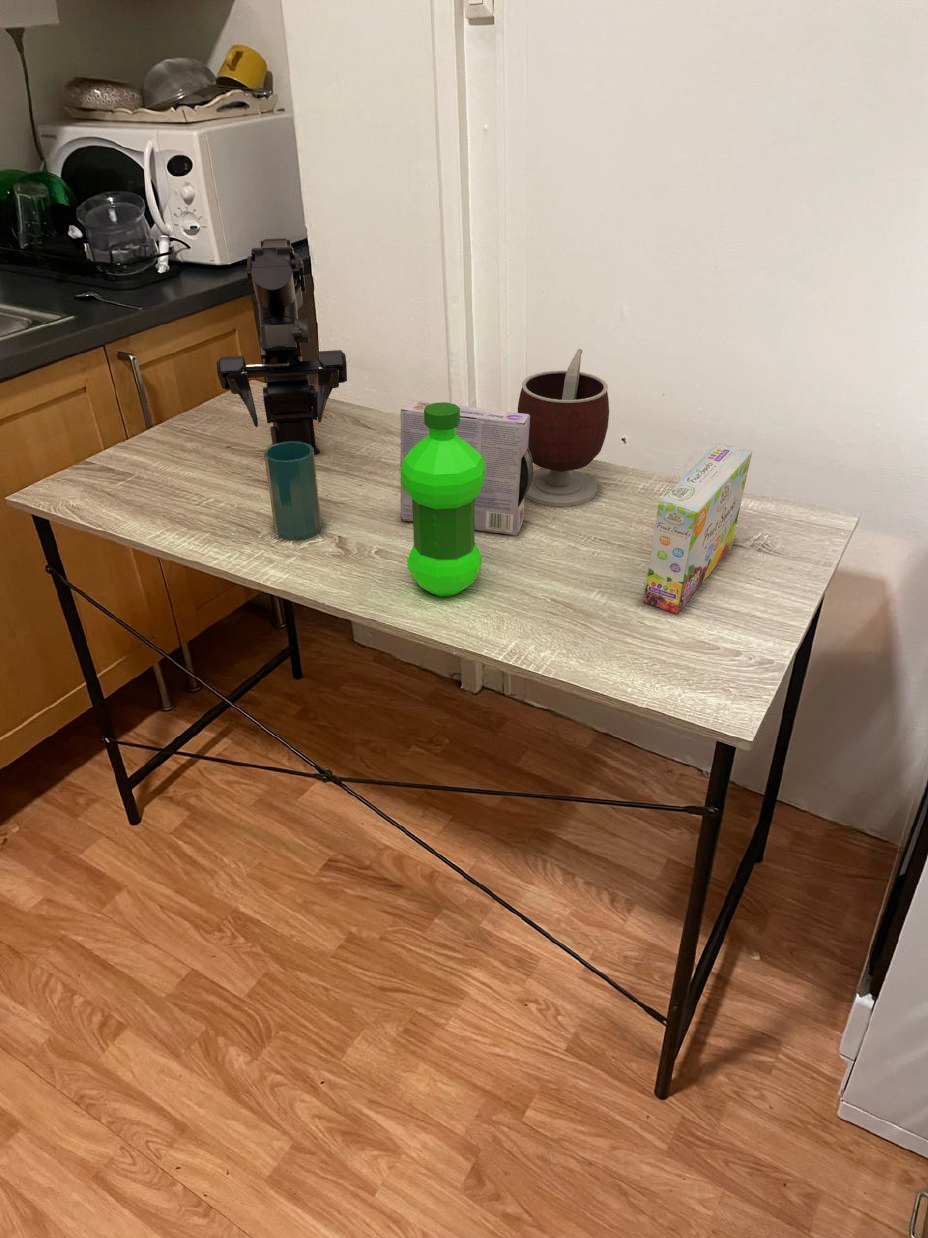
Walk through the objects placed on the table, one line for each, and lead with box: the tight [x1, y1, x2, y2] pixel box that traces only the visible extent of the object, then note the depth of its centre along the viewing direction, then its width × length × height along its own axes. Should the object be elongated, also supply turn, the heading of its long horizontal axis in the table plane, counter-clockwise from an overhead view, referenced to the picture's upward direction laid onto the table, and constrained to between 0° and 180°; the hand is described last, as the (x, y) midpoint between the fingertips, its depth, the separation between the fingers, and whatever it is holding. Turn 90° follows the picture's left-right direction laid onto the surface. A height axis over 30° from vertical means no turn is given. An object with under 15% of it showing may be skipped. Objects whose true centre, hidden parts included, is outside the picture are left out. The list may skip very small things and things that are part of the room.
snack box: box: [642, 443, 753, 614], centre depth 121 cm, size 21×6×15 cm, turn 148°
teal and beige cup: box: [263, 441, 322, 541], centre depth 133 cm, size 7×7×12 cm
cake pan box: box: [399, 399, 534, 537], centre depth 133 cm, size 19×5×18 cm, turn 75°
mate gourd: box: [517, 348, 610, 508], centre depth 142 cm, size 16×14×20 cm
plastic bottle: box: [399, 401, 485, 597], centre depth 116 cm, size 10×10×25 cm
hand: (288, 423), depth 135 cm, fingers open, 9 cm apart
